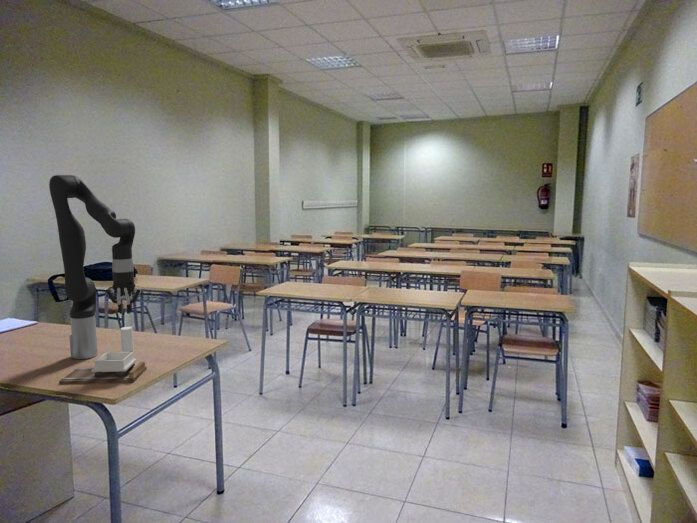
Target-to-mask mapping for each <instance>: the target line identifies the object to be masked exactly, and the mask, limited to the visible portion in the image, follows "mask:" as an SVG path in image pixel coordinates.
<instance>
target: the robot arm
mask: <svg viewBox="0 0 697 523" xmlns="http://www.w3.org/2000/svg"><path fill="white" fill-rule="evenodd" d="M48 186H49V193H50V197H51V202H52V205H53V209H54V214H55V218H56V223H57V224H56V225H57V232H58V239H59V246H60V250H61V251H60V252H61V256H62V257H61V258H62V263H63V271H64V292H65V295H66V297H67V298H68V299H69V300H70V301H72V307H71V309H70V311H69V317H70V318H69V320H70V330H71V334H70V335H69V350H70V358H71V359H76V360H85V359H92V358H94V357H95V358H96V357H97V356H98V351H99V350H98V340H97V339H98V338H97V337H98V336H97V325H96V309H97V289H96V285H95V282H94V281H93V280H92V279H91V278H89V277H87V276H85V275H86V274H85V270H84V266H85V264H84V263H85V257H86V253H87V252H86V251H87V242H86V235H85V230H84V228H83V226H82V225H81V223H80V222H79V221H78V219H77V218H76V217H75V215H74V214H73V213H72V211H71V209H70V205H69V201H68V200H69V199H77V200H79V201H81V202H83V204H84V205H85V210H86V213H87V214H88V215H89V216H90V217H91V218H92V219H93V220H95V221H96V222H97V223H98V224H99V225H100V226H101V227H102V228H101V229H103V231H104V232H105V234H107V236H110V237H111V238H115V239H116V238H119V240H118V242H117V243H115V244H113V245H112V247H111V253H112V254H111V258H112V263H111V264H112V265H111V266H112V267H111V270H112V271H111V272H112V283H113V284H112V286H111V287H110V288H108V289H106V290H105V292H106V295H108V298H109V299H110V300H111V302H112V303H113V304H117V310H118V311H117V312H118V313H119V314H120V315H123V314H124V313H125V311H124V303H123V301H124V297H125V300H126V314H128V315H130V314H131V312H133V304H135V303H136V302H137V301H138V299H139V297H140V295H141V294H142V291H143V288H139V287H137V286H136V284H135V274H134V261H133V249H132V248H133V244H134V239H135V235H136V227H135V223H134V222H133V220H131V219H130V218H117V214H116V212H115V211H114V210H113V209H111V208H110V207H109V206H108V205H106V204H105V202H103V201H102V200H100V199H99V198H98V197H97V196H96V195H95V194H94V193H93V192H92V190H91V189H90V188H89V187H88V185H87V184H85V182H83V180H82V179H81V178H80V177H78V176H77V175H73V174H72V175H71V174H70V175H69V174H67V175H66V174H65V175H64V174H62V175H61V174H55V175H52V176H51V177H50V179H49V185H48ZM133 292H134V296H133V294H132V293H133ZM115 293H116V295H115Z"/></svg>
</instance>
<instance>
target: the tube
mask: <svg viewBox="0 0 697 523" xmlns="http://www.w3.org/2000/svg"><path fill="white" fill-rule="evenodd" d="M133 330H134V329H133V326H124V327H123V326H122V327H121V328H120V338H121V339H120V342H121V343H120V344H121V352H135V351H134V334H133Z"/></svg>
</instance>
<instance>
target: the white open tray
mask: <svg viewBox="0 0 697 523" xmlns="http://www.w3.org/2000/svg"><path fill="white" fill-rule="evenodd" d="M134 352H135V351H134ZM134 352H122V351H110V352H109V351H108V352H107V351H106V352H104V353H103V354H102V355H100V356H99V357H98V358H97V359H95V360H94V367H92V368H93V369H92V370H91V372H95V377H97V378H100V377H101V376H102V375H103V373H102V372H115V371H119V372H118V373H117V375H118V377H123V376H124V375H125V371H126V370H128V369H129V368H132V367H135V366H136V363H137V361H138V358H135V355H134V354H135V353H134Z"/></svg>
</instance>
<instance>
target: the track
mask: <svg viewBox="0 0 697 523" xmlns="http://www.w3.org/2000/svg"><path fill="white" fill-rule="evenodd" d="M93 368H94V367H77V368H75V369H74V370H73V371H71V372H70V373H68V374H67V375H66V376H64V377H63V378H62V377H61V379H60V380H58V383H59V385H71V384H72V385H77V384H78V385H79V384H80V385H81V384H113V383H114V384H117V383H118V384H121V383H122V384H123V383H124V384H125V383H135V382H136V381H137V379H139V377H141V376H142V375H143V374H144V373H145V371H147V366H146V362H145V361H139V363H137V364H135V366H134V367H132V368H129V369H128V370H126V371H125V375H124V376H123V377H118V375H117V373H118V372H119V371H115V372H102V373H103V375H102V376H101V377H100V378H97V377H95V372H91V370H92V369H93Z"/></svg>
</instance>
